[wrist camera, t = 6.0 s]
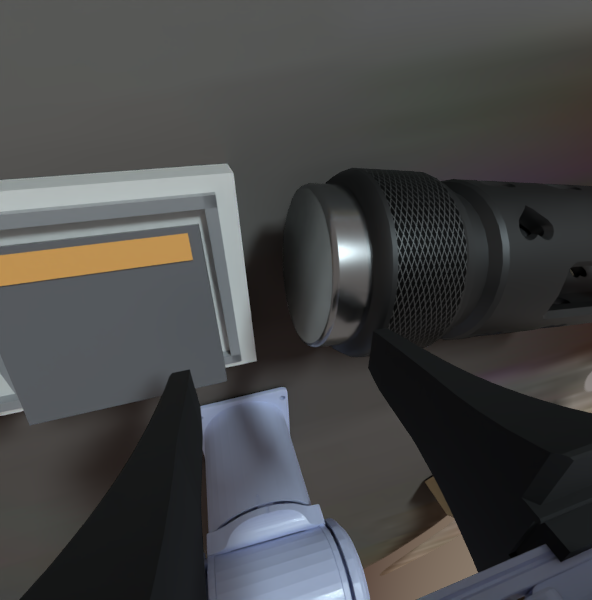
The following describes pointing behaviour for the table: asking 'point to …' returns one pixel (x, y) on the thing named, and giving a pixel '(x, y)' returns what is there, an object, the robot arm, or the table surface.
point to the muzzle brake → (434, 258)
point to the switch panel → (140, 216)
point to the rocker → (106, 319)
